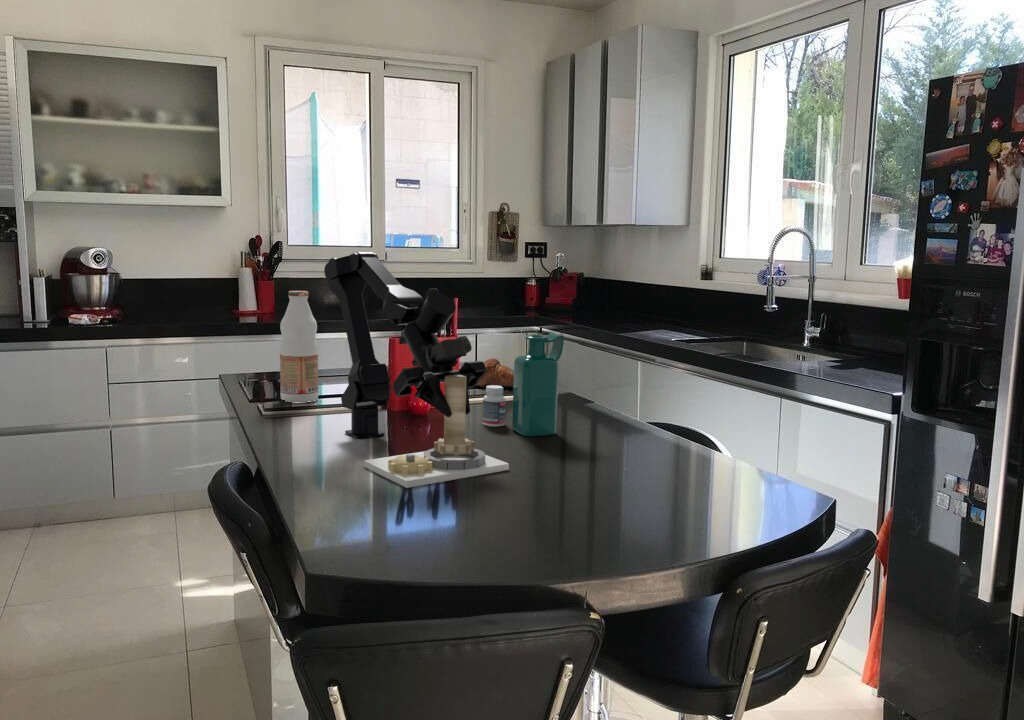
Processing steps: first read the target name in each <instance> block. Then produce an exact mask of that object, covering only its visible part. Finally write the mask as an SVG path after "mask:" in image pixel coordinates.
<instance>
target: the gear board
mask: <svg viewBox="0 0 1024 720" xmlns="http://www.w3.org/2000/svg"><path fill="white" fill-rule="evenodd" d="M363 467H364V468H365V469H368V470H370V471H372V472H374V473H376V474H378V475H380V476H382V477H384V478H386V479H387V480H389V481H392V482H394V483H396V484H398V485H400V486H402V487H404V488H406V489H409V488H414V487H419V486H426V485H430V484H437V483H444V482H448V481H453V480H459V479H464V478H465V479H466V478H469V477H471V478H472V477H477V476H482V475H487V474H493V473H499V472H504V471H509V470H510V464H509V463H508V462H506V461H503V460H501V459H497V458H495V457H492V456H490V455H487V454H485V451H484V450H480V449H478V448H474V450H471V453H470V454H467V453H466V454H459V455H453V454H440V452H438V451H434V447H433V448H430V449H427V450H424V451H417V452H412V453H404V454H398V455H391V456H385V457H379V458H371V459H366V460H363Z"/></svg>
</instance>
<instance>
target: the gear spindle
mask: <svg viewBox="0 0 1024 720" xmlns="http://www.w3.org/2000/svg"><path fill="white" fill-rule="evenodd" d="M444 397H445V399H446V401H447V403H448V405H449V407H450V410H451V413H452V415H451V416H450V417H447V416H445V415H444V414H443V438H441V437H440V438H437V441H434V443H433V448H434V451H438V452H440V454H453V455H459V454H466V453H467V454H470V453H471V450H474V449H475V441H474V440H470V439H469V438H468V437H467V438H466V416H467V415H466V376H462V375H447V376H445V382H444Z"/></svg>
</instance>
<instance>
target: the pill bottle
mask: <svg viewBox="0 0 1024 720" xmlns="http://www.w3.org/2000/svg"><path fill="white" fill-rule="evenodd" d="M485 393H486V394H485V395H484V396H483V398H482V425H483V426H486V427H498V428H499V427H503V426H505V425H506V404H507V403H506V397H505V396H504V395H503V394H504V387H502V386H497V385H490V386H486V388H485Z"/></svg>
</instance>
